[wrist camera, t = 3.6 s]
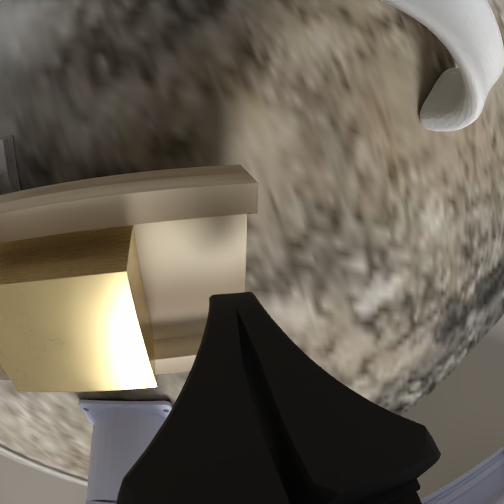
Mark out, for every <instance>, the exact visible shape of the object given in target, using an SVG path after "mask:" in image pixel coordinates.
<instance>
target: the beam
mask: <svg viewBox="0 0 504 504" xmlns="http://www.w3.org/2000/svg"><path fill="white" fill-rule="evenodd" d="M257 204H258V182H257V181H256V180H255V179H254V178H253V177H252V176H251V175H250V174H249V173H248V172H247V171H246V170H245V169H244V168H243V167H242V166H241V165H223V166H206V167H191V168H179V169H167V170H156V171H147V172H137V173H129V174H120V175H112V176H105V177H98V178H91V179H84V180H77V181H71V182H65V183H59V184H53V185H48V186H42V187H37V188H32V189H27V190H22V191H17V192H13V193H8V194H3V195H0V243H3V242H10V241H16V240H22V239H29V238H36V237H43V236H49V235H57V234H64V233H71V232H79V231H86V230H94V229H102V228H110V227H119V226H127V225H133V226H134V233H135V239H136V246H137V252H138V258H139V264H140V269H141V275H142V280H143V286H144V291H145V296H146V301H147V305H148V310H149V315H150V319H151V324H152V328H153V336H154V353H155V368H156V375H159V374H168V373H177V372H185V371H191V368H192V366H193V363H194V361H195V358H196V355H197V352H198V350H199V347H200V344H201V341H202V337H203V334H204V330H205V326H206V322H207V317H208V312H209V297H211V296H212V295H215V294H229V293H242V292H245V272H246V234H247V214H253V213H257ZM0 380H10V378H9V377H8V375H7V374H6V373H5V371H4V370H3V368H2V367H1V365H0Z"/></svg>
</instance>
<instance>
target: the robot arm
mask: <svg viewBox="0 0 504 504" xmlns="http://www.w3.org/2000/svg"><path fill="white" fill-rule="evenodd" d="M78 405H79V406H80V408H81V409H82V411H83V412H84V414H85V415H86V417H87V418H88V420H89V421H90V422H91V424H92V425H93V433H92V442H91V451H90V462H89V475H88V492H87V500H86V504H504V446H503V447H501V448H500V449H499V450H498V451H496V452H495V453H494V454H492V455H491V456H490V457H488V458H487V459H486V460H484V461H483V462H481V463H480V464H479V465H477V466H476V467H474V468H473V469H471V470H470V471H468V472H467V473H465V474H464V475H462V476H460V477H459V478H457V479H456V480H454V481H452V482H451V483H449V484H447V485H446V486H444V487H442V488H441V489H439V490H437V491H435V492H434V493H432V494H430V495H428V496H426V497H424V498H422V499H420V498H419V496H418V494H417V492H416V491H418V490H419V489H420V485H419V483H418V481H417V478H418V477H419V476H420V475H421V474H423V473H424V472H425V471H427V470H428V469H429V468H430V467H431V466H433V464H435V463H436V462H437V461H438V459H439V458H440V455H441V454H440V452H439V450H438V448H437V446H436V444H435V442H434V440H433V438H432V436H431V435H430V433H429V432H428V430H427V429H426V427H425V426H424V425H421V424H419V423H416V422H414V421H411V420H409V419H406V418H404V417H402V416H399V415H397V414H394V413H392V412H390V411H388V410H386V409H384V408H382V407H380V406H378V405H376V404H374V403H372V402H371V401H369V400H367V399H366V398H364V397H362V396H361V395H359V394H358V393H356V392H354V391H353V390H351V389H350V388H348V387H346V386H345V385H343V384H342V383H341V382H339V381H338V380H336V379H335V378H334V377H332V376H331V375H330V374H328V373H327V372H326V371H325V370H323V369H322V368H321V367H320V366H318V365H317V364H316V363H315V362H314V361H313V360H311V359H310V358H309V357H308V356H307V355H306V354H305V353H304V352H303V351H302V350H301V349H300V348H299V347H298V346H297V345H296V344H295V343H294V342H293V341H292V340H291V339H290V338H289V337H288V336H287V335H286V334H285V333H284V332H283V331H282V329H281V328H280V327H279V326H278V325H277V324H276V323H275V321H274V320H273V319H272V318H271V317H270V315H269V314H268V313H267V312H266V310H265V309H264V308H263V306H262V305H261V304H260V302H259V301H258V300H257V298H256V297H255V295H254V294H253V293H252V292H242V293H229V294H215V295H212V296H211V297H209V312H208V317H207V322H206V326H205V330H204V334H203V337H202V341H201V344H200V347H199V350H198V352H197V355H196V358H195V361H194V363H193V366H192V368H191V371H190V373H189V375H188V378H187V380H186V382H185V384H184V386H183V388H182V390H181V392H180V394H179V396H178V398H177V400H176V402H175V404H174V406H173V407H172V405H171V403H170V402H168V401H102V400H79V403H78Z"/></svg>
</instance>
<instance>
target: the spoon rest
mask: <svg viewBox="0 0 504 504" xmlns="http://www.w3.org/2000/svg"><path fill="white" fill-rule="evenodd" d="M379 1H382V2H384V3H387V4H389V5H391V6H393V7H395V8H397V9H399V10H401V11H403V12H405V13H407V14H408V15H410V16H411V17H413V18H414V19H416V20H417V21H419V22H420V23H422V24H423V25H424V26H425V27H427V28H428V29H429V30H430V31H431V32H432V33H433V34H434V35H435V36H436V37H437V38H438V39H439V40H440V41H441V42H442V43H443V44H444V46H445V47H446V48H447V49H448V51H449V52H450V54H451V55H452V57H453V58H454V60H455V62H456V64H457V66H458V68H449V69H447V70H445V71H444V72H443V73H442V74H441V75H440V77H439V78H438V80H437V81H436V83H435V84H434V86H433V88H432V90H431V92H430V94H429V95H428V97H427V98H426V100H425V102H424V103H423V105H422V108H421V111H420V122H421V124H422V126H423V127H424V128H426V129H428V130H433V131H454V130H458V129H462V128H464V127H466V126H468V125H469V124H471V123H472V122H474V121H475V120H476V119H477V118H478V117H479V115H480V113H481V111H482V109H483V106H484V103H485V100H486V97H487V94H488V92H489V90H490V89H491V87H492V86H493V85H494V83H495V82H496V81H497V80H498V78H499V77H500V76H501V73H502V71H503V67H504V48H503V42H502V37H501V34H500V30H499V27H498V24H497V21H496V19H495V16H494V14H493V11H492V9H491V7H490V5H489V3H488V2H487V0H379Z"/></svg>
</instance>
